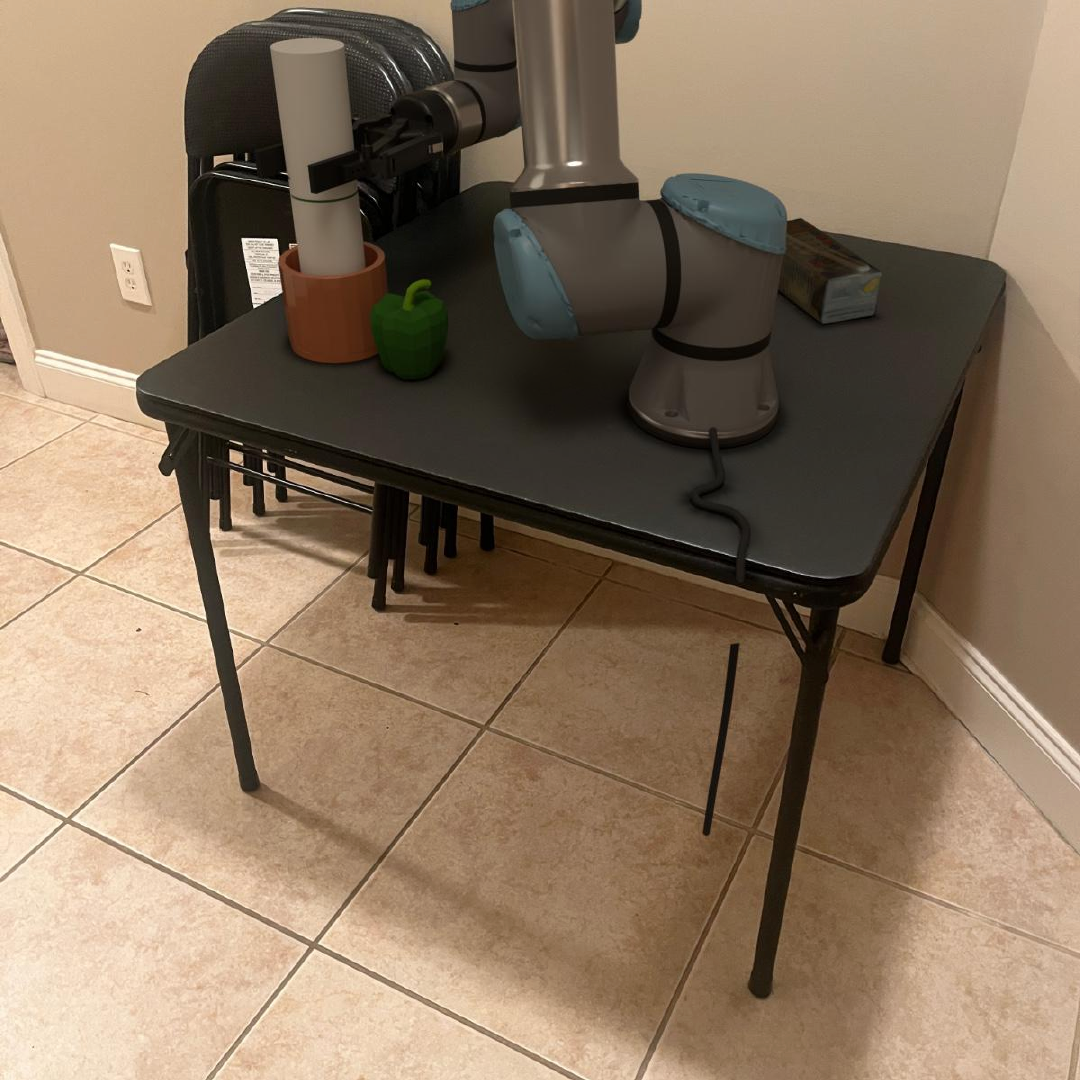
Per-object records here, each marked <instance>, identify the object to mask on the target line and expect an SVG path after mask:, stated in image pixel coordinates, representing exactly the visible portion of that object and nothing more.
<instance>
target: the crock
mask: <svg viewBox="0 0 1080 1080" xmlns="http://www.w3.org/2000/svg"><path fill="white" fill-rule="evenodd" d="M363 246H364V256H365V266H366V268H365V269H362V270H359V271H356V272H353V273H348V274H342V275H329V276H321V275H308V274H303V273H301V269H300V262H299V255H298V247H297V245H295V246H293V247H290V248H289V249H287V250H285V251H283V252H282V254H281V255H280V256H279V257H278V261H277V266H278V267H277V268H278V272H279V273H278V274H279V280H280V286H281V292H282V293H281V294H282V299H283V306H284V313H285V319H286V326H287V332H288V339H289V342H290V348H291V350H292V351H293V352H294V353H295V354H296V355H297V356H299V357H300V358H303V359H304V360H308V361H311V362H314V363H315V362H317V363H321V364H322V363H324V364H347V363H353V362H359V361H363V360H367V359H369V358H372V357H374V356H377V355H379V353H378V350H377V348H376V344H375V341H374V338H373V335H372V332H371V324H370V312H371V310H372V307H373V305H375V304H377V303H378V302H379V301H380V300H381V299H382V298H383V297H384V296H385V295H386V294H387V293H389V290H388V289H389V288H388V279H387V278H388V277H387V266H386V255H385V251H384V250H383V249H382V248H380V247H379V246H378V245H376V244H373V243H371V242H368V241H364V240H363Z"/></svg>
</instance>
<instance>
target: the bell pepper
mask: <svg viewBox="0 0 1080 1080" xmlns="http://www.w3.org/2000/svg"><path fill="white" fill-rule="evenodd" d="M431 286H432V281H431V280H430V279H427V278H426V279H424V278H422V279H420V280H416V281H414V282H412V283H411V284H410V285H409V287H407V288H406V292H405V296H402V295H399V294H394V293H390V292H388V293H387V294H386V295H385V296H384V297H383V298H382V299H381V300H380V301H379V302H378V303H377V304H375V305H373V307H372V310H371V312H370V324H371V332H372V335H373V338H374V341H375V344H376V348H377V350H378V353H379V354H378V355H379V358H380V360H381V363H382V365H383V367H384V368H385V369H386V370H387V371H388V372H391V373H394V374H395V375H396V376H397V377H400V379H402V380H418V379H419V380H420V379H424V378H428V377H429V376H431V374H433V372H435V369H436V368H438V367H439V365H440V363H441V362H442V359H443V357H444V352H445V348H446V343H447V336H448V331H449V309H448V306H447V304H446V303H445V301H444V299H438V298H437V297H436V296H435V295H433V294H432V293H431V292H430V291H429V288H431ZM422 289H426V290H422ZM419 290H422V291H419Z"/></svg>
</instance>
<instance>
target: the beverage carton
mask: <svg viewBox="0 0 1080 1080" xmlns="http://www.w3.org/2000/svg"><path fill="white" fill-rule="evenodd" d="M882 273H883V272H882V271H881V270H879V269H878V268H877V267H875V266H874V265H873V264H871V263H869V262H867V261H866V260H865V259H864V258H862V257H861V256H859V255H858V254H856V253H855V252H854V251H852V250H850V249H849V248H848V247H846V246H844V245H843V244H842V243H840V242H838V241H837V240H836V239H835V238H833V237H831V236H830V235H828V234H827V233H825V232H824V231H822V230H821V229H819V228H818V227H817V226H815V225H813V224H812V223H810V222H809V221H807V220H805V219H803V218H802V217H799V218H795V219H790V220H789V219H788V220H787V230H786V252H785V254H784V255H783V261H782V267H781V274H780V280H779V286H778V292H780V293H781V294H782V295H784V296H785V297H786V298H787V299H789V300H790V301H791V302H792V303H794V304H795V305H797V307H799V308H800V309H802V310H803V311H804V312H805V313H807V314H808V315H809V316H811V317H812V318H814V319H815V320H816V321H817V322H818V323H820V324H821V325H826V324H832V323H838V322H845V321H849V320H854V319H859V318H865V317H871V316H873V315H875V311H876V305H877V303H878V296H879V289H880V284H881V281H882V276H883V274H882Z"/></svg>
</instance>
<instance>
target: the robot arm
mask: <svg viewBox="0 0 1080 1080" xmlns="http://www.w3.org/2000/svg"><path fill="white" fill-rule="evenodd" d="M642 2H643V1H642V0H450V3H449V5H450V10H451V20H452V21H451V24H452V25H451V26H452V38H453V39H452V40H453V41H452V43H453V75H454V79H453V80H448V81H447V80H446V81H444V82H441V83H437V84H434V85H429V86H427V87H425V88H423V89H419V90H415V91H412V92H408V93H405V94H403V95H400V96H399V97H397V99H395V100H394V101H393V103H392V105H391V107H390V109H389V111H388V113H383V114H376V115H375V116H374V117H371V118H364V119H361V114H360V113H357V112H353V113H351V122H352V132H353V142H354V150H352V151H349V152H346V153H344V154H340V155H337V156H334V157H331V158H328V159H325V160H322V161H319V162H316V163H313V164H310V165H307V166H308V174H309V182H310V190H311V193H314V194H318V193H321V192H324V191H326V190H329V189H332V188H335V187H338V186H340V185H343V184H346V183H349V182H352V181H354V180H357V181H358V180H360V179H362V177H364V178H367V179H372V178H376V177H377V176H378V175H380V178H381V180H385V181H389V180H392V179H394V178H396V177H399V176H401V175H403V174H405V173H407V172H409V171H412V170H413V169H416V168H418V167H420V166H422V165H424V164H427V163H429V162H432V161H437V160H440V159H443V158H444V157H445V156H447V155H448V156H449V157H453V156H455V155H456V152H458V151H461V150H464V149H467V148H469V147H473V146H475V145H477V144H480V143H483V142H487V141H489V140H492V139H496V138H501V137H504V136H506V135H508V134H510V133H511V132H514V131H515V130H518V129H519V128H521V138H522V153H523V169H522V171H521V173H520V175H519V176H518V177H517V179H516V180H515V181H514V183H512V185H510V187H509V188H508V190H509V191H508V192H509V193H508V194H509V205H510V207H509V208H504V209H503V210H502V211H500V212H498V213H497V214H496V215H495V216H494V220H493V229H492V230H493V236H494V239H493V246H494V255H495V260H496V266H497V271H498V275H499V280H500V283H501V284H500V285H501V288H502V291H503V294H504V297H505V301H506V304H507V306H508V309H509V311H510V314H511V315H512V316H511V317H512V318H513V320H514V322H515V324H516V326H517V327H518V328H519V330H520V331H521V332H522V333H523V334H524V335H526V336H528V337H529V338H532V339H534V340H558V339H567V340H569V341H574V340H577V339H578V337H579V338H581V337H588V336H598V335H608V334H615V333H616V334H619V333H629V332H636V331H637V332H638V331H648V330H651V336H650V340H649V342H648V345H647V346H646V349H645V350H644V353H643V356H642V358H641V361H640V362H639V364H638V367H637V369H636V372H635V374H634V376H633V378H632V381H631V384H630V385H629V392H628V407H627V408H628V413H629V415H630V417H631V419H632V420H633V421H634V423H635V424H636V425H638V426H639V427H640V428H641V429H642V430H644V431H645V432H646V433H648V434H651V435H653V436H654V437H656V438H659V439H661V440H663V441H667V442H669V443H672V444H677V445H682V446H686V447H693V448H701V449H702V448H703V449H711V455H712V459H713V464H714V466H715V470H716V477H715V479H714V480H713V481H711V482H708V483H706V484H702V485H700V486H696V487H695V488H693V490H691V491H690V494H689V495H690V500H691V502H692V503H693V504H694V505H695V506H696V507H699V508H701V509H703V510H708V511H711V512H716V513H720V514H723V515H727V516H729V517H732V518H733V519H734V520H735V521H736V522H737V524H738V525H739V527H740V529H741V536H740V538H739V539H740V540H739V543H738V547H737V552H736V559H735V580H736V582H738V583H744V582H745V580H746V559H747V553H748V548H749V544H750V540H751V535H752V534H751V533H752V531H751V526H750V523H749V521H748V520H747V519H746V517H745V516H744V515H743V514H742V513H741V512H740V511H739V510H737V509H736V508H734V507H731V506H729V505H726V504H722V503H718V502H713V501H709V500H706V499H703V498H701V497H700V496H701V495H704V494H706V493H710V492H713V491H716V490H717V489H718V488H720V487H721V486H722V485H723V483H724V481H725V477H726V471H725V467H724V463H723V459H722V456H721V452H720V451H721V448H730V447H732V448H733V447H738V446H742V445H745V444H748V443H752V442H755V441H757V440H759V439H761V438H763V437H764V436H766V435H767V434H768V433H770V432H771V430H772V429H773V428H774V426H775V424H776V422H777V417H778V411H779V404H780V403H779V396H778V395H779V394H778V393H779V392H778V389H777V384H776V378H775V374H774V368H773V364H772V358H771V353H770V342H771V335H772V330H773V324H774V317H775V310H776V306H777V305H776V304H777V298H778V292H779V290H778V286H779V280H780V274H781V267H782V261H783V255H784V254H785V252H786V230H787V221H788V212H787V209H786V207H785V204H784V203H783V201H782V200H781V199H780V198H779V197H778V196H777V195H775V194H774V193H772V192H770V191H769V190H768V189H765V188H763V187H761V186H758V185H756V184H754V183H751V182H748V181H744V180H741V179H737V178H733V177H728V176H723V175H719V174H710V173H694V172H693V173H691V172H689V173H679V174H675V176H670V177H668V178H666V179H665V181H664V182H663V185H662V187H661V188H660V193H659V194H660V198H657V199H645V200H641V199H640V183H639V182H640V180H639V177H637V176H636V174H634V173H633V171H631V170H630V168H628V167H627V166H626V165H625V163H624V162H623V160H622V159H621V140H620V137H621V136H620V120H619V119H620V117H619V97H618V96H619V95H618V76H617V75H618V73H617V53H616V51H617V50H616V49H617V48H616V45H623V44H624V45H625V44H628V43H630V42H631V41H633V40H634V39H635V38H636V36H637V34H638V32H639V29H640V20H641V19H642V11H643V3H642ZM253 154H254V155H253V156H254V161H255V168H256V174H257V178H258V179H262V180H263V179H267V178H270V177H273V176H275V175H276V176H277V175H279V174H282V173H285V172H287V167H286V160H285V152H284V145H283V141H281V142H278V143H274V144H272V145H269V146H265V147H262V148H259V149H255V150H253ZM360 155H361V156H360ZM739 650H740V642H735V643H730V644H729V651H728V652H729V653H728V662H727V668H726V669H727V670H726V679H725V687H724V688H725V689H724V693H723V702H722V706H721V707H722V708H721V715H720V716H721V717H720V720H719V721H720V722H719V728H718V735H717V741H716V747H715V753H714V758H713V765H712V771H711V776H710V782H709V788H708V795H707V801H706V806H705V814H704V819H703V824H702V825H703V826H702V832H701V833H702V835H703V836H705V837H709V836H710V834H711V830H712V823H713V817H714V811H715V806H716V805H715V804H716V798H717V794H718V788H719V782H720V777H721V770H722V765H723V760H724V754H725V747H726V743H727V736H728V730H729V723H730V718H731V713H732V705H733V699H734V698H733V697H734V692H735V691H734V690H735V684H736V676H737V675H736V674H737V667H738V660H739V659H738V658H739Z"/></svg>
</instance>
